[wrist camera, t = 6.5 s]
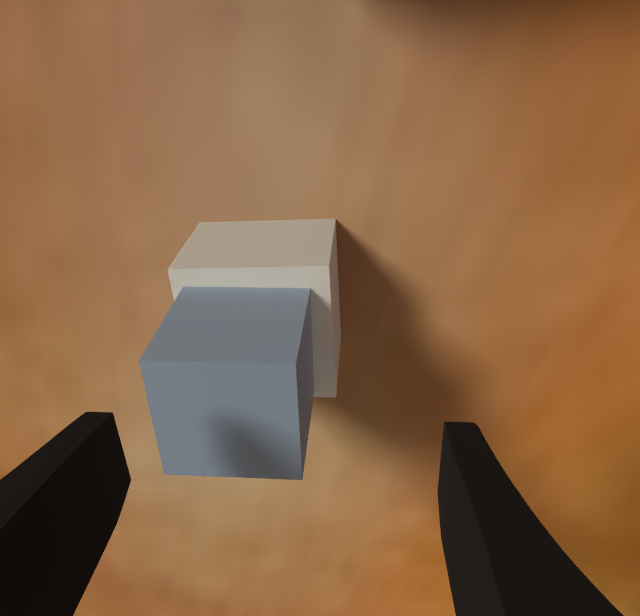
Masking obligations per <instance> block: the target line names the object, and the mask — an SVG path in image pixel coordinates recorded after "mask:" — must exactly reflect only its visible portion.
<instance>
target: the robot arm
mask: <svg viewBox="0 0 640 616" xmlns="http://www.w3.org/2000/svg"><path fill="white" fill-rule="evenodd" d="M130 482H131V478H130V474H129V470H128V467H127V463H126V459H125V456H124V452H123V448H122V445H121V441H120V437H119V434H118V430H117V426H116V423H115V419H114V415H113V413H110V412H85V413H84V414H83V415H81V416H80V417H79V418H77V419H76V420H75V421H73V422H72V423H71V424H70V425H68V426H67V427H66V428H65V429H63V430H62V431H61V432H60V433H58V434H57V435H56V436H55V437H54V438H52V439H51V440H50V441H49V442H47V443H46V444H45V445H44V446H42V447H41V448H40V449H39V450H38V451H36V452H35V453H34V454H32V455H31V456H30V457H29V458H27V459H26V460H25V461H24V462H22V463H21V464H20V465H19V466H17V467H16V468H15V469H14V470H12V471H11V472H10V473H9V474H7V475H6V476H5V477H3V478H2V479H1V480H0V616H73V614H74V612H75V610H76V608H77V606H78V604H79V602H80V600H81V598H82V596H83V594H84V591H85V589H86V587H87V585H88V583H89V581H90V579H91V577H92V575H93V573H94V571H95V569H96V567H97V564H98V562H99V560H100V558H101V556H102V554H103V552H104V550H105V548H106V546H107V543H108V541H109V539H110V537H111V535H112V533H113V531H114V528H115V526H116V524H117V521H118V518H119V516H120V513H121V510H122V507H123V504H124V501H125V498H126V494H127V491H128V488H129V485H130ZM438 502H439V516H440V528H441V539H442V544H443V550H444V555H445V560H446V566H447V571H448V576H449V582H450V587H451V592H452V597H453V602H454V608H455V613H456V616H623V615H622V614H621V613H620V612H619V611H618V610H617V609H616V608H615V607H614V606H613V605H612V604H611V603H610V602H609V601H608V599H607V598H606V597H605V596H604V595H603V594H602V593H601V592H600V591H599V590H598V589H597V588H596V587H595V586H594V585H593V584H592V583H591V582H590V581H589V579H588V578H587V577H586V576H585V575H584V574H583V573H582V572H581V571H580V569H579V568H578V567H577V566H576V565H575V564H574V563H573V562H572V560H571V559H570V558H569V557H568V556H567V555H566V553H565V552H564V551H563V550H562V549H561V547H560V546H559V545H558V544H557V543H556V541H555V540H554V539H553V538H552V536H551V535H550V534H549V532H548V531H547V530H546V529H545V527H544V526H543V525H542V524H541V522H540V521H539V520H538V518H537V517H536V516H535V514H534V513H533V512H532V510H531V509H530V508H529V506H528V505H527V503H526V502H525V500H524V499H523V498H522V496H521V495H520V493H519V492H518V490H517V489H516V488H515V486H514V485H513V483H512V482H511V480H510V479H509V477H508V476H507V474H506V473H505V471H504V470H503V468H502V466H501V465H500V463H499V462H498V460H497V459H496V457H495V455H494V454H493V452H492V450H491V449H490V447H489V445H488V443H487V442H486V440H485V438H484V436H483V434H482V433H481V431H480V429H479V427H478V426H477V425H476V424H475V423H469V422H444V430H443V441H442V451H441V462H440V472H439V483H438Z"/></svg>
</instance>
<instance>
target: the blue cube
mask: <svg viewBox="0 0 640 616" xmlns="http://www.w3.org/2000/svg"><path fill="white" fill-rule="evenodd" d="M139 363H140V367H141V372H142V376H143V381H144V385H145V390H146V394H147V399H148V403H149V408H150V412H151V417H152V421H153V426H154V430H155V435H156V439H157V444H158V448H159V453H160V457H161V462H162V466H163V471H164V474H168V475H193V476H218V477H243V478H268V479H293V480H302V478H303V471H304V463H305V456H306V448H307V441H308V434H309V426H310V419H311V411H312V404H313V396H314V373H313V347H312V320H311V293H310V288H251V287H183V288H182V289H181V291H180V293H179V294H178V296H177V298H176V299H175V301H174V303H173V304H172V306H171V308H170V309H169V311H168V313H167V315H166V316H165V318H164V320H163V321H162V323H161V325H160V326H159V328H158V330H157V331H156V333H155V335H154V336H153V338H152V340H151V341H150V343H149V345H148V347H147V348H146V350H145V352H144V353H143V355H142V357H141V358H140V360H139Z"/></svg>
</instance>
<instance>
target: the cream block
mask: <svg viewBox="0 0 640 616" xmlns="http://www.w3.org/2000/svg"><path fill="white" fill-rule="evenodd" d="M168 273H169V278H170V283H171V288H172V293H173V297H174V301H175V299H176V298H177V296H178V294H179V293H180V291H181V289H182V288H183V287H251V288H310V293H311V320H312V347H313V373H314V396H313V397H336V393H337V381H338V368H339V356H340V343H341V325H340V303H339V281H338V260H337V238H336V219H310V220H273V221H235V222H200V223H199V224H198V226H197V227H196V229H195V230H194V231H193V233H192V234H191V236H190V237H189V239H188V240H187V242H186V243H185V245H184V246H183V247H182V249H181V250H180V252H179V253H178V255H177V256H176V258H175V259H174V260H173V262H172V263H171V265H170V266H169V268H168Z"/></svg>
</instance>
